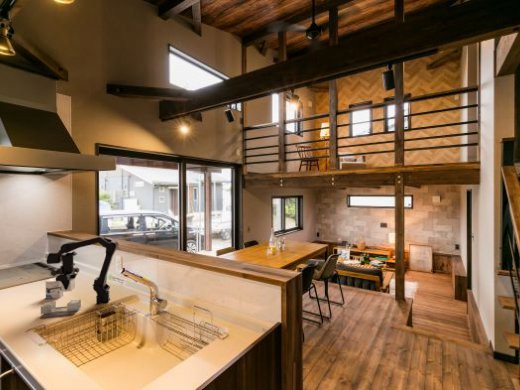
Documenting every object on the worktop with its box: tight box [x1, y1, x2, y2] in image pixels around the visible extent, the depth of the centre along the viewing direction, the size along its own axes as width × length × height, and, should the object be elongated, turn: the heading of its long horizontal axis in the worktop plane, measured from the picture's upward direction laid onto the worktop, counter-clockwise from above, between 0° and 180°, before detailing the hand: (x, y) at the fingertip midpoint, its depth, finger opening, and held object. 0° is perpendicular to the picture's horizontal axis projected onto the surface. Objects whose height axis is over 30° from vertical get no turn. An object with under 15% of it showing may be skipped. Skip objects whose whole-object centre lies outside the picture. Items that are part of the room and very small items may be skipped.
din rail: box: [40, 298, 82, 320], centre depth 159 cm, size 18×12×6 cm, turn 106°
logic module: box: [61, 278, 76, 293], centre depth 169 cm, size 5×6×6 cm
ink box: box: [45, 278, 64, 300], centre depth 182 cm, size 8×5×12 cm, turn 105°
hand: (68, 287), depth 169 cm, fingers closed on logic module, 6 cm apart
